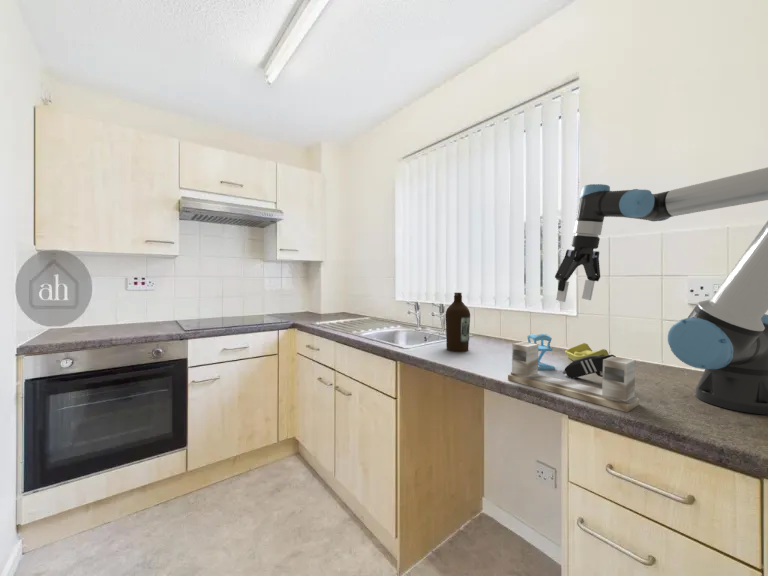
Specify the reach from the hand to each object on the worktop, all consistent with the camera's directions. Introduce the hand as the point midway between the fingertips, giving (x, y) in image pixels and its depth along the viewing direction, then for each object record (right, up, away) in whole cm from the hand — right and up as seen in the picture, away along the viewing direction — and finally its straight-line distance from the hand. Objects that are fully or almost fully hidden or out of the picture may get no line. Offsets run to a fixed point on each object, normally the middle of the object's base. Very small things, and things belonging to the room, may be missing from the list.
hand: (573, 300), depth 110 cm
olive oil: (-31, -23, +36) cm, 53 cm away
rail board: (-12, -25, -18) cm, 33 cm away
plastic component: (+13, -24, +14) cm, 31 cm away
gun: (0, -25, -9) cm, 26 cm away
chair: (-8, -24, +8) cm, 27 cm away
